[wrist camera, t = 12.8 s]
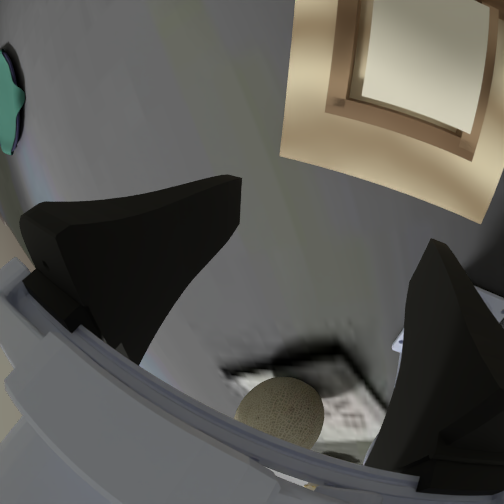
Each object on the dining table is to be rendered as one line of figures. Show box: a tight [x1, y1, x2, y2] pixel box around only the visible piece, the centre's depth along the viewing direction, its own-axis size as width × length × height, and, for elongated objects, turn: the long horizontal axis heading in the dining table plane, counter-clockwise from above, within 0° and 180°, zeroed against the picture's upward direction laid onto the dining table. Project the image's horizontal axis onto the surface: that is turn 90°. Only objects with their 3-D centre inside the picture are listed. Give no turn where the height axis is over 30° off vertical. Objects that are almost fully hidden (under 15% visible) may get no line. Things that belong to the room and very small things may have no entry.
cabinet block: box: [362, 0, 490, 134], centre depth 8 cm, size 6×4×7 cm
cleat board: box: [280, 0, 504, 224], centre depth 10 cm, size 16×14×5 cm
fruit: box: [234, 377, 324, 450], centre depth 29 cm, size 10×12×15 cm
